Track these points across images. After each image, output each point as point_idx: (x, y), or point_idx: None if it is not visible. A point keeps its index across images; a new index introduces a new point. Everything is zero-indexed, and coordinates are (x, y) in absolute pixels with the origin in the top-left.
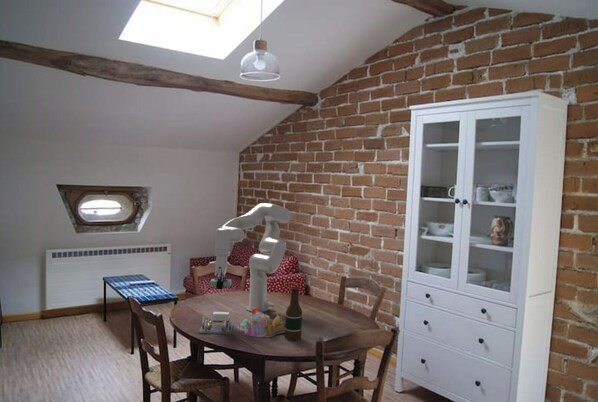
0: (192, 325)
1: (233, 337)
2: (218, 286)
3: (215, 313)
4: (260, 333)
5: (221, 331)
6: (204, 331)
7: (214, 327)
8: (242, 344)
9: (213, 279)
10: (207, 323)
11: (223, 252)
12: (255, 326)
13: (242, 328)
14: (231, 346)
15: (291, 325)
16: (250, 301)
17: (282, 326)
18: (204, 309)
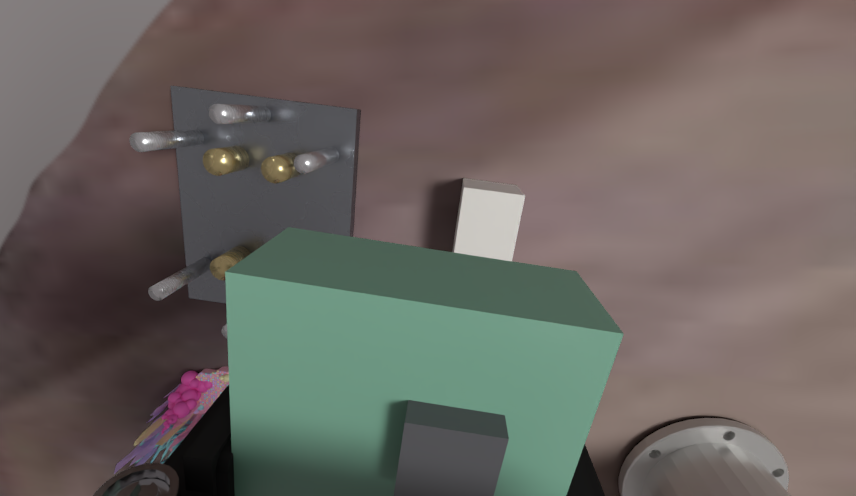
0: (348, 18)
1: (147, 304)
2: (224, 400)
3: (471, 210)
4: (178, 443)
5: (188, 243)
6: (175, 128)
7: (260, 197)
8: (56, 342)
9: (495, 370)
10: (209, 150)
11: None
12: (140, 452)
13: None
14: (13, 288)
15: None
16: (719, 490)
17: None
18: (802, 97)
